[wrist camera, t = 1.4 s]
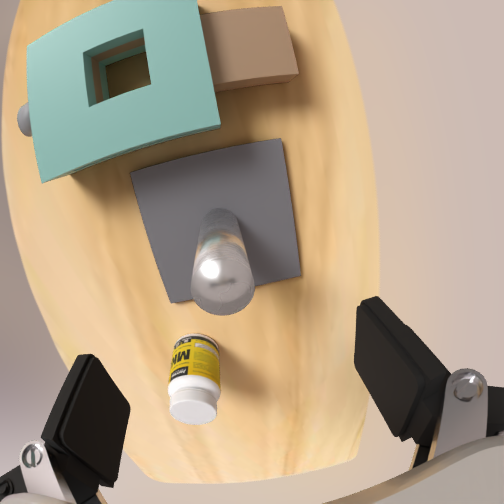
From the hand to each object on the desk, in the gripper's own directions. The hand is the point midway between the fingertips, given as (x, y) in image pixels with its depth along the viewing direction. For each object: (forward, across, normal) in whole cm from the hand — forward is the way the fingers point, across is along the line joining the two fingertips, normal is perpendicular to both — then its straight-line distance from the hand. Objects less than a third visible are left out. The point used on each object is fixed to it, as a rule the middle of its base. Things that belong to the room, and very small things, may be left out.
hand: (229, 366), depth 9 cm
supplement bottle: (+16, +6, +12) cm, 20 cm away
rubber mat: (+15, 0, -1) cm, 15 cm away
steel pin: (+15, 0, -1) cm, 15 cm away
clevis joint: (+15, +3, -14) cm, 21 cm away
